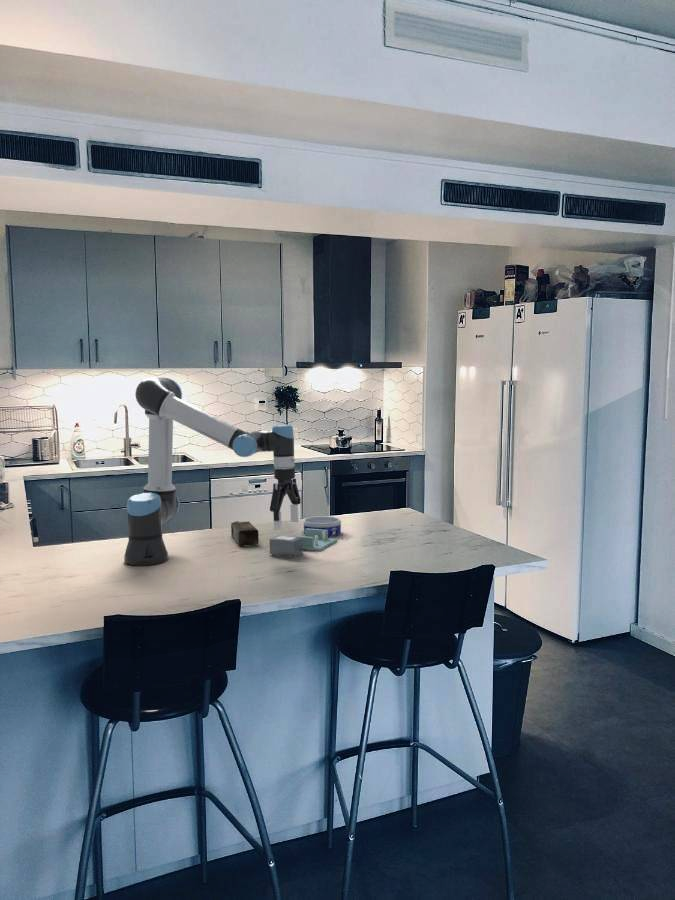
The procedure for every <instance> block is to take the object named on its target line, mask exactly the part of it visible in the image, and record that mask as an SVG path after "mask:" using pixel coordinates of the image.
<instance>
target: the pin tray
mask: <svg viewBox="0 0 675 900" xmlns="http://www.w3.org/2000/svg"><path fill="white" fill-rule="evenodd" d="M300 533H301V534H300V535H297V533H292V535H290V537H301V538H302V549H307V550H306V551H313V550H316V551H315V552H321V551H322V550H325V549H326V547H327V548H328V547H330V546H331V545H333V544H335V543H336V542H338V538H332V537H328V530H322V529H309V528H306V529H305V535H304V529H302V530H300Z"/></svg>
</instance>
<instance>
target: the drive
mask: <svg viewBox="0 0 675 900" xmlns="http://www.w3.org/2000/svg"><path fill="white" fill-rule="evenodd" d="M290 536H291V535H290ZM290 536H288V535H276V536H273V537H271V538H269V555H270V554H272V555H271V556H275V555H281V556H280V557H284V556H291V557H290V558H296V557H298V556H300V555H302V554H304V551H303V550H302V538H301V537H290ZM301 553H302V554H301ZM299 554H300V555H299ZM297 555H298V556H297ZM295 556H296V557H295Z"/></svg>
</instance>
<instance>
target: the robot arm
mask: <svg viewBox="0 0 675 900" xmlns="http://www.w3.org/2000/svg"><path fill="white" fill-rule="evenodd" d="M182 398H183V392H182V388H181V386H180V385H179V383H178V382H176V381H175V380H174V379H172V378H169V377H148V378H145V379H143V380H142V381H140V382H139V384H138V385H137V387H136V388H135V399H136V402H137V404H138V405H139V407H141V408H142V409H143V410H144V414H145V416H146V417H147V418H148V459H147V461H148V466H147V467H148V469H147V484H145V485H144V486H143V492H142V493H139V494H135V495H132V496H129V498H128V499H127V501H126V514H127V515H126V518H127V531H128V532H127V533H128V534H127V535H128V542H127V545H126V549H125V554H124V557H123V559H124V561H123V562H124V564H125V563H126V565H128V564H129V565H128V566H133V565H136V566H135V567H137V566H138V567H147V566H154V565H159V564H163V563H164V562H167V561H168V560H169V551H168V550H167V547H166V544H165V541H164V539H163V524H166V523H168V522H170V521H172V520H173V518H175V516H176V515H177V514H178V512H179V510H180V499H179V497H178V496H177V495H176V494H177V493H176V492H177V491H176V486H174V485H173V480H172V479H173V477H172V476H173V441H174V440H173V435H174V433H173V432H174V422H176V423H178V424H179V425H180V424H181V425H182V426H185V427H186V428H188V429H190V430H193V431H195V432H196V433H199V434H201V435H203V436H204V437H206V438H209V439H210V440H212V441H214V442H217V443H218V444H220V445H222V446H225V447H226V448H228V449H231V450H232V451H233V452H234V453H235V454H236V455H237V456H238V457H240V458H247V457H248V458H249V457H251V456H253V455H254V454H257V453H262V452H263V453H266V452H272V453H273V455H272V457H273V467H274V469H273V475H274V477H273V478H274V479H275V480H277V483H273V485H272V488H273V489H272V493H271V494H272V495H271V501H270V506H269V511H270V512H272V513H273V530H277V531H281V530H283V529H282V528H283V527H282V510H281V508H282V505H283V502H284V498H285V497H286V495H287V497H288V499H289V500H290V503H291V504H290V506H289V507H290V522H291V523H299V505H301V496H300V492H299V489H298V484H297V479H296V469H295V463H296V459H295V436H294V428H293V425H291V424H275V425H272V427H271V430H246V431H245V430H242V429H241V428H238V427H236V426H234V425H233V424H231V423H229V422H226V421H224V420H223V419H220V418H219V417H217V416H215V415H213V414H211V413H209V412H207V411H205V410H202V409H200V408H199V407H197V406H194V405H192V404H191V403H190V402H187V401H185V400H183V399H182Z"/></svg>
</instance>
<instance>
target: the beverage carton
mask: <svg viewBox="0 0 675 900" xmlns="http://www.w3.org/2000/svg"><path fill="white" fill-rule="evenodd" d="M230 525H231V526H230V528H231V529H230V531H231V532H230V533H231V537H232V539H233V538H234V539H233V540H234V542H236V544H237V545H238V546H239V547H245V546H244V545H252V546H258V545H259V530H258V528H256V527H255V526H254V525H253V524H252V523H251V522H250V521H238V520H236V521H233V522H231V523H230ZM257 544H258V545H257Z"/></svg>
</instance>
